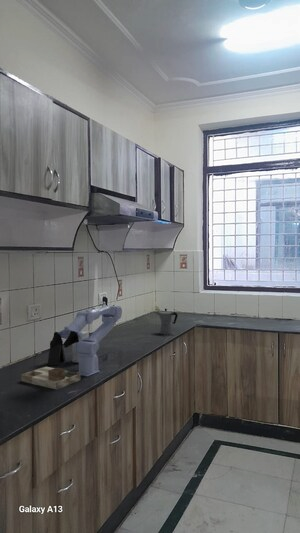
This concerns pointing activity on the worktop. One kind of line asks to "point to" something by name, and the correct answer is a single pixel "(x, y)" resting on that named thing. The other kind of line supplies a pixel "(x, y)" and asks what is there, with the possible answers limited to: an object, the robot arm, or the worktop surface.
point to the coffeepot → (166, 321)
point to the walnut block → (56, 374)
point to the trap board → (42, 378)
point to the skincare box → (74, 355)
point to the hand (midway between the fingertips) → (57, 346)
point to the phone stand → (56, 355)
